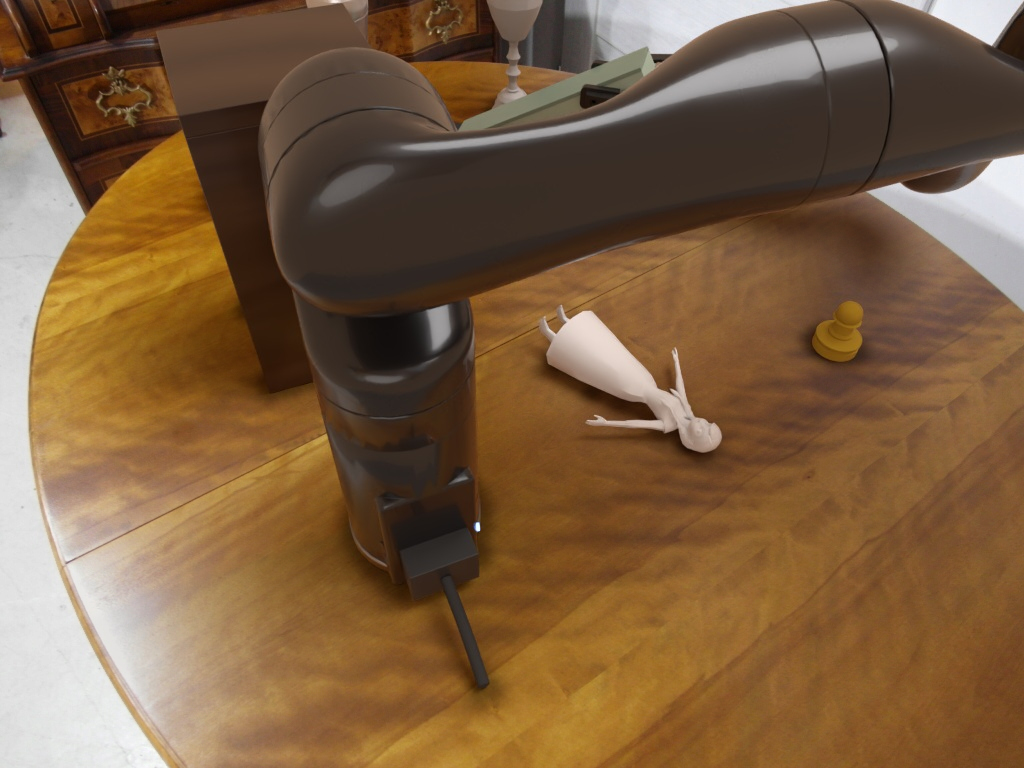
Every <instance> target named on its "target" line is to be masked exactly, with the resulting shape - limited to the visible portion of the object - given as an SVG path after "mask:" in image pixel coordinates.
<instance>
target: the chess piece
mask: <svg viewBox="0 0 1024 768" xmlns="http://www.w3.org/2000/svg"><path fill="white" fill-rule="evenodd" d="M838 305H839V306H838V307H837V308H836V310H835V311H833V313H832V318H833V319H827V320H824V321H822V322H820V323H819V324H818V325H817V326H816V329H815V331H814V334H813V336H812V339H811V345H812V348H813V349H814V351H815V352H816V353H817V354H819V356H821V357H823V358H824V359H826V360H829V361H832V362H837V363H839V362H840V363H841V362H843V363H844V362H849V361H851V360H852V359H854V358H855V357H856V356H857V353H858V351H859V349H860V348H861V346H862V344H863V336H862V334H861V332H860V331H859V330H858V329H857V328H859V327H861V325H862V324H863V317H864V309H863V307H862V306H861V304H859V303H858V302H856V301H853V300H847V301H844V302H842V303H841V304H838Z"/></svg>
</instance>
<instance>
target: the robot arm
mask: <svg viewBox="0 0 1024 768" xmlns="http://www.w3.org/2000/svg"><path fill="white" fill-rule="evenodd" d="M650 54H651V56H652V59H653V61H654V64H655V68H654V69H653V70H651V71H650V72H649V73H648V74H646V75H645V76H644V77H643V78H641V79H640V80H639V81H638V82H636V83H635V84H633V85H632V86H630V87H629V88H627V89H626V90H621V91H620V89H618V88H611V87H604V86H596V85H591V84H585V85H583V87H582V89H581V93H580V106H581V107H582V108H584V110H582V111H578V112H574V113H570V114H567V115H563V116H559V117H554V118H548V119H543V120H538V121H532V122H527V123H521V124H516V125H510V126H505V127H497V128H490V129H482V130H469V131H458V130H457V128H456V126H455V124H454V122H455V121H454V119H453V117H452V115H451V113H450V110H449V109H448V106H447V104H446V103H445V101H444V99H443V98H442V96H441V95H440V93H439V91H438V90H437V88H436V87H435V86H434V85H433V84H432V82H430V80H429V79H428V78H427V77H426V76H425V75H424V74H423V73H421V71H419V70H418V69H417V68H415V67H414V66H413V65H412V64H410V63H408V62H407V61H405V60H404V59H401V58H399V57H397V56H395V55H393V54H391V53H388V52H385V51H381V50H378V49H375V48H374V49H373V48H372V49H368V48H358V47H350V48H340V49H333V50H329V51H326V52H322V53H320V54H317V55H315V56H313V57H311V58H309V59H307V60H305V61H304V62H302V63H301V64H299V65H298V66H296V67H295V68H294V69H293V70H292V71H290V72H289V73H288V74H287V75H286V76H285V77H284V78H283V79H282V81H281V82H280V83H279V84H278V86H277V87H276V88H275V90H274V91H273V93H272V95H271V96H270V98H269V100H268V102H267V104H266V106H265V109H264V112H263V115H262V118H261V122H260V126H259V134H258V154H259V162H260V167H261V173H262V182H263V189H264V196H265V203H266V210H267V216H268V223H269V229H270V235H271V241H272V246H273V251H274V254H275V258H276V261H277V264H278V267H279V269H280V271H281V274H282V276H283V277H284V279H285V281H286V282H287V284H288V285H289V286H290V287H291V289H292V293H293V298H294V303H295V307H296V312H297V317H298V321H299V326H300V331H301V336H302V340H303V344H304V349H305V352H306V356H307V359H308V363H309V367H310V371H311V374H312V378H313V385H314V389H315V394H316V397H317V400H318V404H319V409H320V412H321V413H320V414H321V417H322V420H323V424H324V425H323V426H324V428H325V432H326V435H327V439H328V444H329V447H330V451H331V455H332V458H333V463H334V466H335V470H336V475H337V477H338V481H339V485H340V489H341V493H342V496H343V500H344V504H345V508H346V511H347V515H348V521H349V522H348V523H349V528H350V533H351V536H352V539H353V542H354V544H355V546H356V548H357V550H358V551H359V553H360V554H361V555H362V556H363V558H365V559H366V561H367V562H369V563H370V564H371V565H373V566H374V567H376V568H378V569H380V570H382V571H384V572H387V573H388V574H389V576H390V579H391V582H392V584H393V585H395V586H399V585H401V584H404V583H406V585H407V587H408V590H409V593H410V596H411V599H412V601H413V602H416V601H418V600H421V599H423V598H426V597H429V596H432V595H434V594H437V593H440V592H442V591H443V592H444V594H445V597H446V601H447V603H448V605H449V608H450V612H451V613H452V617H453V619H454V621H455V624H456V627H457V630H458V633H459V635H460V638H461V642H462V644H463V647H464V650H465V653H466V656H467V658H468V662H469V664H470V668H471V671H472V673H473V677H474V680H475V684H476V686H477V688H478V689H480V690H481V689H482V690H483V689H485V688H487V687H488V686H489V685H490V684H491V683H490V679H489V676H488V673H487V670H486V667H485V664H484V661H483V657H482V655H481V652H480V649H479V646H478V643H477V640H476V637H475V635H474V632H473V629H472V627H471V623H470V621H469V618H468V615H467V613H466V610H465V607H464V605H463V601H462V599H461V597H460V595H459V591H458V589H457V587H456V586H459V585H462V584H464V583H467V582H470V581H472V580H475V579H477V578H480V553H479V551H478V535H479V532H480V531H481V522H482V509H481V508H482V504H481V498H480V483H479V482H480V481H479V456H478V455H479V453H478V452H479V451H478V418H477V416H478V415H477V375H476V373H477V371H476V330H475V329H476V328H475V327H476V326H475V318H474V313H473V309H472V308H473V307H472V303H471V299H470V298H472V297H475V296H478V295H481V294H485V293H487V292H491V291H495V290H497V289H499V288H502V287H505V286H509V285H511V284H514V283H516V282H521V281H523V280H525V279H528V278H532V277H534V276H537V275H541V274H543V273H546V272H550V271H552V270H555V269H558V268H561V267H565V266H567V265H570V264H572V263H576V262H579V261H582V260H585V259H589V258H592V257H595V256H599V255H602V254H605V253H609V252H612V251H617V250H620V249H623V248H627V247H631V246H635V245H639V244H640V245H641V244H643V243H647V242H651V241H655V240H659V239H663V238H668V237H672V236H674V235H678V234H682V233H687V232H690V231H694V230H697V229H701V228H706V227H711V226H714V225H719V224H722V223H726V222H730V221H735V220H739V219H744V218H749V217H750V218H751V217H756V216H762V215H767V214H773V213H780V212H785V211H789V210H793V209H798V208H802V207H807V206H811V205H815V204H819V203H824V202H829V201H833V200H837V199H843V198H847V197H850V196H855V195H858V194H863V193H866V192H869V191H873V190H877V189H882V188H886V187H889V186H893V185H896V184H901V185H902V186H903V187H905V188H906V189H907V190H910V191H911V192H914V193H919V194H925V195H939V194H947V193H951V192H953V191H957V190H959V189H961V188H964V187H966V186H967V185H969V184H971V183H973V182H974V181H975V180H976V179H977V178H978V177H979V176H981V175H982V173H983V172H984V171H985V170H986V169H987V168H989V166H990V165H991V163H992V162H993V161H994V160H1000V159H1005V158H1010V157H1016V156H1023V155H1024V0H1023V1H1022V3H1021V4H1020V5H1019V7H1018V8H1017V9H1016V11H1015V12H1014V13H1013V15H1012V16H1011V17H1010V19H1009V20H1008V21H1007V23H1006V25H1004V28H1003V29H1002V31H1000V33H999V34H998V36H997V38H995V40H994V42H993V43H992V45H991V44H989V43H987V42H986V41H983V40H982V39H980V38H978V37H977V36H974V35H973V34H971V33H969V32H966V31H965V30H963V29H961V28H959V27H957V26H955V25H954V24H952V23H950V22H948V21H945V20H943V19H941V18H939V17H937V16H935V15H932V14H930V13H928V12H925V11H923V10H921V9H918V8H915V7H913V6H909V5H907V4H905V3H901V2H898V1H895V0H822V1H816V2H811V3H804V4H800V5H793V6H789V7H788V6H787V7H782V8H777V9H772V10H766V11H762V12H758V13H754V14H748V15H745V16H741V17H738V18H734V19H731V20H729V21H726V22H723V23H721V24H718V25H716V26H714V27H713V28H710V29H709V30H707V31H705V32H703V33H702V34H700V35H698V36H697V37H695V38H693V39H692V40H691V41H689V42H687V43H686V44H685V45H683V46H682V47H680V48H679V49H678V50H676V51H675V52H673V53H650ZM610 61H611V60H610ZM610 61H609V60H602V59H595V60H593V61H592V64H591V65H590V69H592V68H595V67H597V66H600V65H602V64H605V63H607V62H610Z"/></svg>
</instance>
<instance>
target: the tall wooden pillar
mask: <svg viewBox="0 0 1024 768" xmlns="http://www.w3.org/2000/svg"><path fill="white" fill-rule="evenodd" d="M155 33H156V37H157V40H158V41H157V42H158V44H159V48H160V52H161V56H162V60H163V63H164V64H163V65H164V67H165V71H166V75H167V80H168V83H169V87H170V91H171V94H172V99H173V102H174V107H175V111H176V114H177V118H178V121H179V124H180V127H181V129H182V133H183V136H184V139H185V143H186V145H187V148H188V151H189V154H190V157H191V160H192V163H193V167H194V169H195V172H196V175H197V178H198V182H199V185H200V187H201V190H202V193H203V196H204V199H205V202H206V205H207V209H208V211H209V214H210V217H211V220H212V223H213V227H214V230H215V232H216V236H217V238H218V241H219V245H220V247H221V250H222V254H223V257H224V260H225V262H226V265H227V268H228V271H229V275H230V278H231V280H232V284H233V286H234V289H235V293H236V296H237V299H238V301H239V305H240V308H241V311H242V314H243V317H244V320H245V323H246V326H247V329H248V332H249V335H250V338H251V341H252V344H253V348H254V350H255V353H256V356H257V359H258V362H259V365H260V368H261V372H262V374H263V377H264V380H265V383H266V386H267V389H268V393H269V394H273V393H277V392H280V391H281V392H282V391H284V390H287V389H291V388H294V387H299V386H302V385H306V384H309V383H312V382H313V378H312V374H311V371H310V367H309V363H308V359H307V356H306V352H305V349H304V344H303V340H302V336H301V331H300V326H299V321H298V317H297V312H296V307H295V303H294V298H293V293H292V289H291V287H290V286H289V285H288V284H287V282H286V281H285V279H284V277H283V276H282V274H281V271H280V269H279V267H278V264H277V261H276V258H275V254H274V251H273V246H272V241H271V235H270V229H269V223H268V216H267V210H266V203H265V196H264V189H263V182H262V173H261V167H260V162H259V154H258V134H259V126H260V122H261V118H262V115H263V112H264V109H265V106H266V104H267V102H268V100H269V98H270V96H271V95H272V93H273V91H274V90H275V88H276V87H277V86H278V84H279V83H280V82H281V81H282V79H283V78H284V77H285V76H286V75H287V74H288V73H289V72H290V71H292V70H293V69H294V68H295V67H296V66H298V65H299V64H301V63H302V62H304V61H305V60H307V59H309V58H311V57H313V56H315V55H317V54H320V53H322V52H326V51H329V50H333V49H340V48H350V47H358V48H368V49H373V47H372V46H371V44H370V43H369V41H368V42H367V40H366V39H365V37H364V35H363V34H362V32H361V31H360V29H359V28H358V26H357V25H356V23H355V21H354V20H353V18H352V17H351V15H350V14H349V12H348V11H347V9H346V7H345V6H344V4H343V3H339V4H332V5H326V6H319V7H312V8H307V7H305V8H299V9H294V10H287V11H280V12H273V13H267V14H260V15H253V16H246V17H238V18H233V19H225V20H219V21H212V22H207V23H200V24H192V25H187V26H179V27H173V28H166V29H165V28H164V29H159V30H156V31H155ZM313 383H314V382H313Z"/></svg>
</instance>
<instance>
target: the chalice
mask: <svg viewBox="0 0 1024 768" xmlns="http://www.w3.org/2000/svg"><path fill="white" fill-rule="evenodd" d="M543 1H544V0H486V3H487V6H488V10H489V12H490V15H491V18H492V20H493V22H494V24H495V27H496V29H497V32H498V33H499V35H500V37H501V38H502V39H503V40H505V41H507V42H508V45H509V48H508V53H507V55H506V59H507V60H508V67H507V69H506V70H505V74H506V75H507V77H508V84H507V86H506V87H504V88H502V89H501V90H500V91H499V92H498V94H497V97H496V98H495V100H494V105H493V106H492V107H491V109H494V108H496V107H499V106H501V105H504V104H506V103H509V102H511V101H514V100H516V99H518V98H521V97H523V96H526V95H528V94H527V93H526V92H525V90H524V89H523V88H520V86H518V77H519V76H520V75H521V70H520V69H519V67H518V63H519V60H520V59H521V55H520V53H519V48H518V46H519V42H522V41H524V40H526V38H527V37H528V35H529V33H530V31H531V29H532V28H533V26H534V24H535V22H536V20H537V18H538V16H539V12H540V10H541V8H542V5H543Z"/></svg>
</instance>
